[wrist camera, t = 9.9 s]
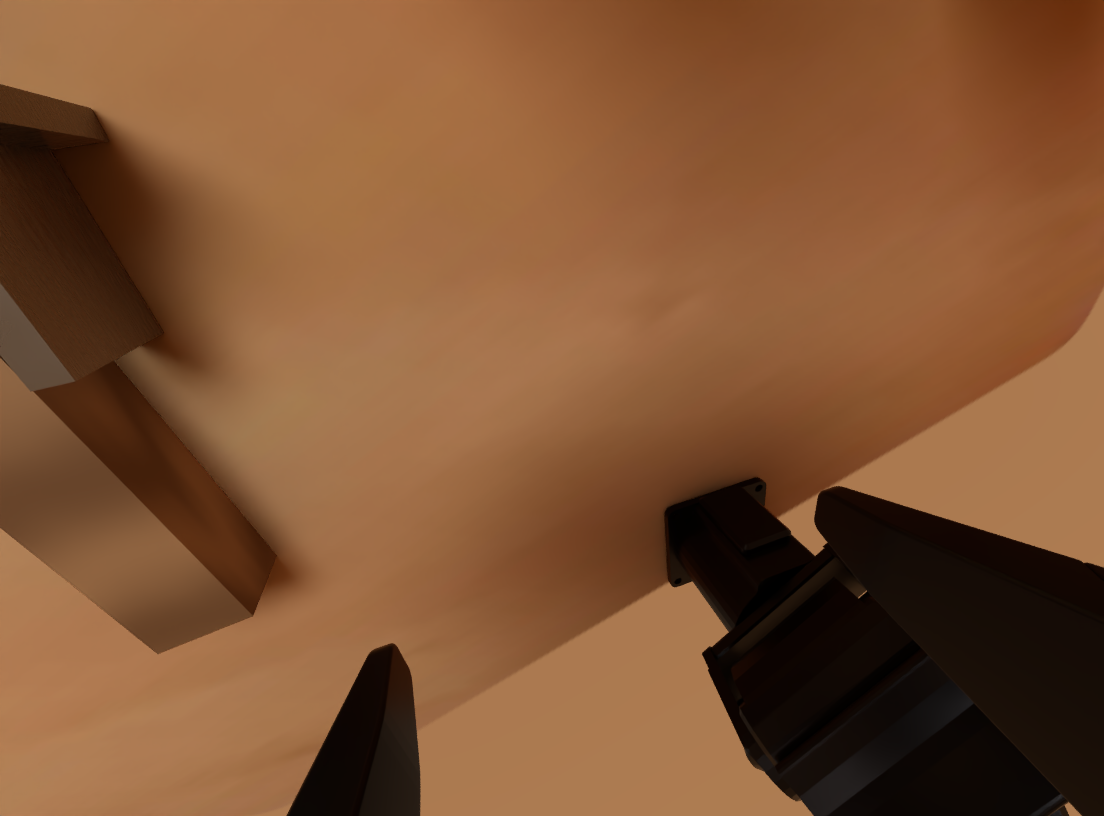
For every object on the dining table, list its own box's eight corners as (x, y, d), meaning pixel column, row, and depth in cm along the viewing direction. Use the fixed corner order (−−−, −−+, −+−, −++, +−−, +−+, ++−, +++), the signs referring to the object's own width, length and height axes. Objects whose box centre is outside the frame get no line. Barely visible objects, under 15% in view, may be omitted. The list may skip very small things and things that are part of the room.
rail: (-144, 244, 12) (-332, 261, 9) (-7, 207, 13) (-144, 211, 10) (198, 581, 20) (157, 654, 17) (278, 550, 20) (253, 615, 17)
